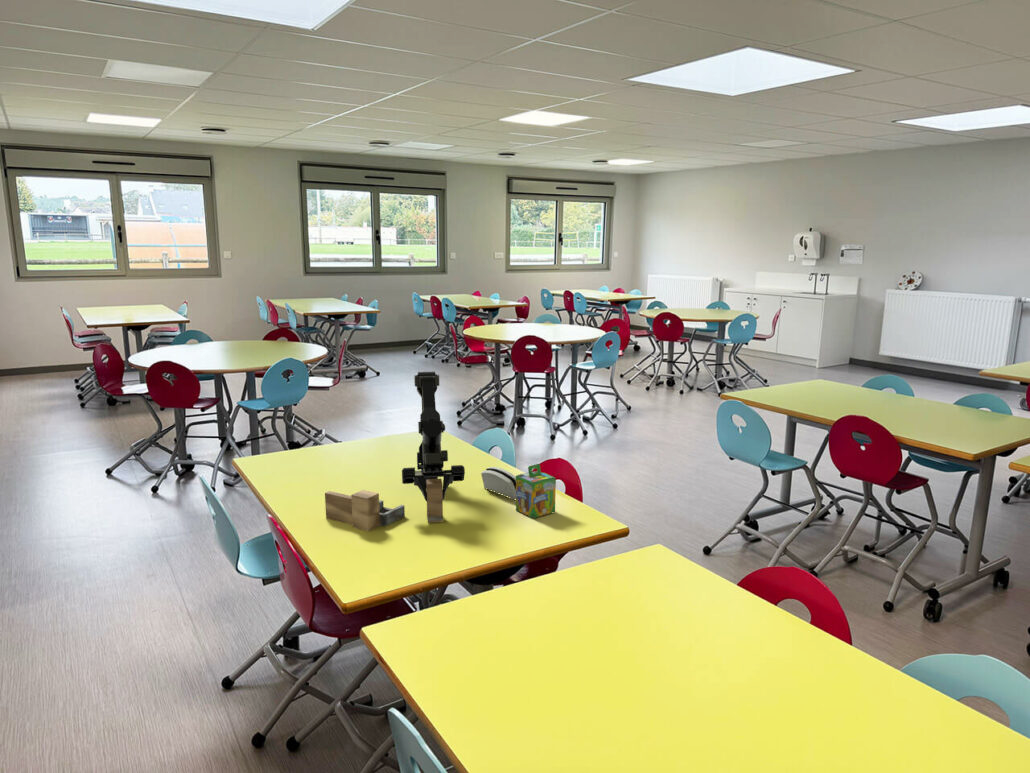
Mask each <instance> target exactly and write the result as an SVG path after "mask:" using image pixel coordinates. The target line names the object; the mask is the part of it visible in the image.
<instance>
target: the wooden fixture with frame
mask: <svg viewBox="0 0 1030 773" xmlns="http://www.w3.org/2000/svg"><path fill="white" fill-rule="evenodd" d="M324 501H325V502H324V503H325V506H324V507H325V519H327V520H332V521H336V522H340V523H344V524H347V525H352V528H354V529H358V530H361V531H365V532H370V531H373V530H375V529H376V528H378V527H384V528H385V527H386V526H389V525H390V524H393V523H395V522H397V521H398V520H400V519H401V520H402V518H405V515H406V514H405V513H406V510H405V505H404V504H400V505H398V506H396V507H394V508H390V507H386V506H384V500H382V499H380V494H379V492H375V491H372V490H371V491H370V490H366V489H362V490H359V491H357V492H355V493H353V494H351V495H349V494H345V493H341V492H335V491H331V490H328V491H326V492H324Z"/></svg>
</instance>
